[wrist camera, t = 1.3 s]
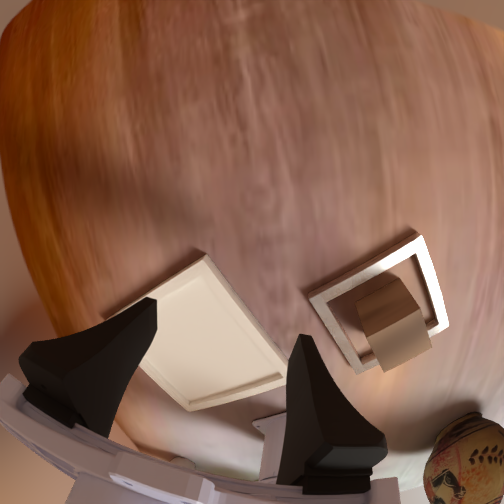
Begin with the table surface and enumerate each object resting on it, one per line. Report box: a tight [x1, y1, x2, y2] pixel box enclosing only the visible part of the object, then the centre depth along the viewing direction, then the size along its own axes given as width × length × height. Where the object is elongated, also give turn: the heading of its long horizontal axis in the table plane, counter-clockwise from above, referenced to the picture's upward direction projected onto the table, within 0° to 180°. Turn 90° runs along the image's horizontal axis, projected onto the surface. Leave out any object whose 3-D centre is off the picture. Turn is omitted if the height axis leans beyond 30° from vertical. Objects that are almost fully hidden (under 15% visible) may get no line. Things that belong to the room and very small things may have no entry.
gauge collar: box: [308, 232, 449, 375], centre depth 22 cm, size 10×10×1 cm
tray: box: [106, 254, 289, 412], centre depth 26 cm, size 15×15×1 cm
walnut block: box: [355, 278, 432, 372], centre depth 20 cm, size 4×4×5 cm
